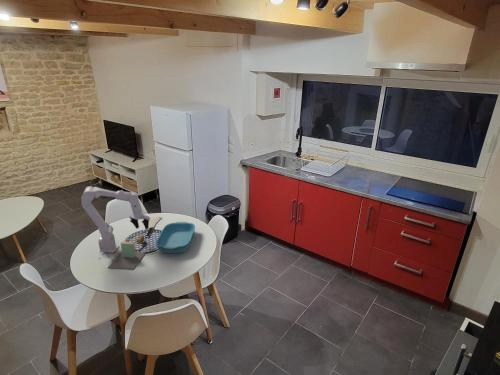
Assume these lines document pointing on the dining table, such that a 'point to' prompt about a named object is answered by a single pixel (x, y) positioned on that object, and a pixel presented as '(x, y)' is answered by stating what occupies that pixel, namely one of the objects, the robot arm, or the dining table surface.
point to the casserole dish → (175, 237)
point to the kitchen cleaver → (152, 224)
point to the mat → (126, 262)
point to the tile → (128, 249)
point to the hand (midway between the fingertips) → (142, 228)
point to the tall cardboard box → (140, 239)
